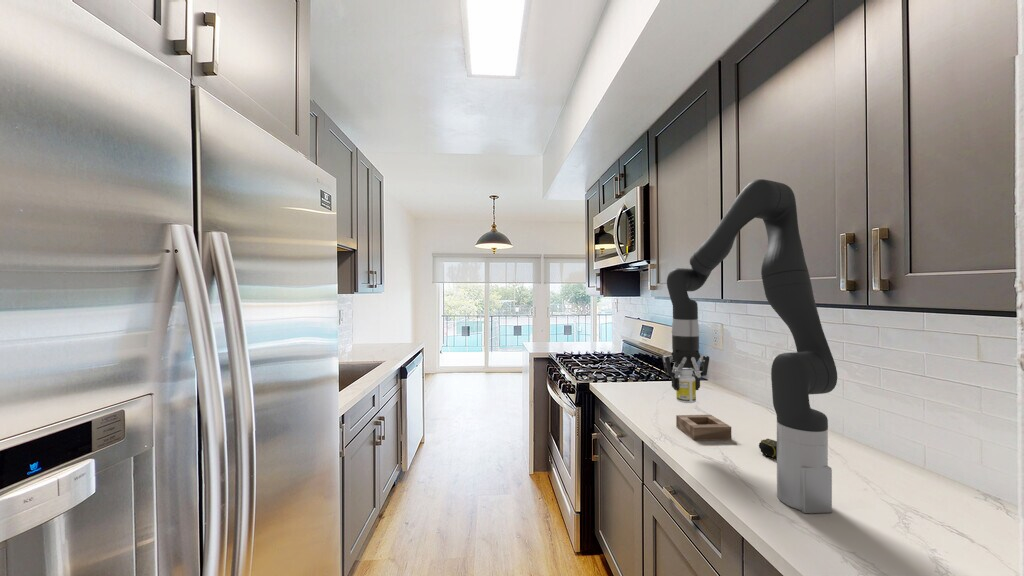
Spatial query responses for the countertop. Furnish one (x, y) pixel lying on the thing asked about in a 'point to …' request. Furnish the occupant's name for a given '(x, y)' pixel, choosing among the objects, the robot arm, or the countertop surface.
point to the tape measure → (769, 447)
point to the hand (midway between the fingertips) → (686, 389)
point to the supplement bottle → (686, 386)
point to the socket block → (703, 427)
